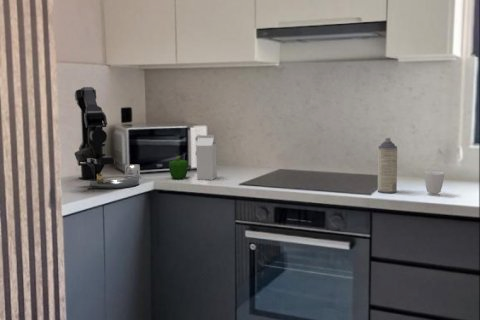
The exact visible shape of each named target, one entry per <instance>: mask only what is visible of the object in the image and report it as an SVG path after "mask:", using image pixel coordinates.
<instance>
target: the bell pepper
mask: <svg viewBox="0 0 480 320" xmlns="http://www.w3.org/2000/svg"><path fill="white" fill-rule="evenodd" d="M188 169H189V163H188V160H185V159H180V156H176V159H173V160H170V161H169V162H168V170H169V174H170V177H171V178H172V179H176V180H182V179H185V178H186V177H187V175H188Z"/></svg>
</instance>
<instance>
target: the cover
mask: <svg viewBox="0 0 480 320" xmlns="http://www.w3.org/2000/svg"><path fill="white" fill-rule="evenodd" d="M124 168H125V169H124V176H133V177H138V178H140V179H141V167H140V164H125V166H124Z"/></svg>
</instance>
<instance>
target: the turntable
mask: <svg viewBox="0 0 480 320" xmlns="http://www.w3.org/2000/svg"><path fill="white" fill-rule="evenodd" d="M137 185H140V179H139V178H138V177H133V176H125V175H112V176H111V175H109V176H104V173H103V172H101V173H97V180H95V178H93V179H89V188H90V187H93V189H99V190H101V189H102V190H103V189H104V190H113V189H114V190H115V189H116V190H117V189H124V188H132V187H135V186H137Z"/></svg>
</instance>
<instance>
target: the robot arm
mask: <svg viewBox="0 0 480 320" xmlns="http://www.w3.org/2000/svg"><path fill="white" fill-rule="evenodd" d="M74 99H75V101H76V104H77V106H78V107H79V109H80V120H81V122H80V123H81V124H80V125H81V144H80V145H79V146H78V150H77V151H75V152H74V154H73V155H74V157H75V159H76V162H77V166H79V167H80V173H81V176H78V179H80V180H92V179H95V180H97V173H102V171H103V168H104V166H106V165H115V162H116V161H115V157H114V156H110V155H106V153H104V147H106V144H105V142H106V141H107V137H108V135H107V132H106V131H105V130H104V129H103V128H107V125H108V119H107V115H106V113H105V112H104V111H103V108H102V107H101V106H99V105H98V103H97V91H96V89H95V87H93V86H86V87H85V86H84V87H81V88H80V89H76V90H75V91H74Z"/></svg>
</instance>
